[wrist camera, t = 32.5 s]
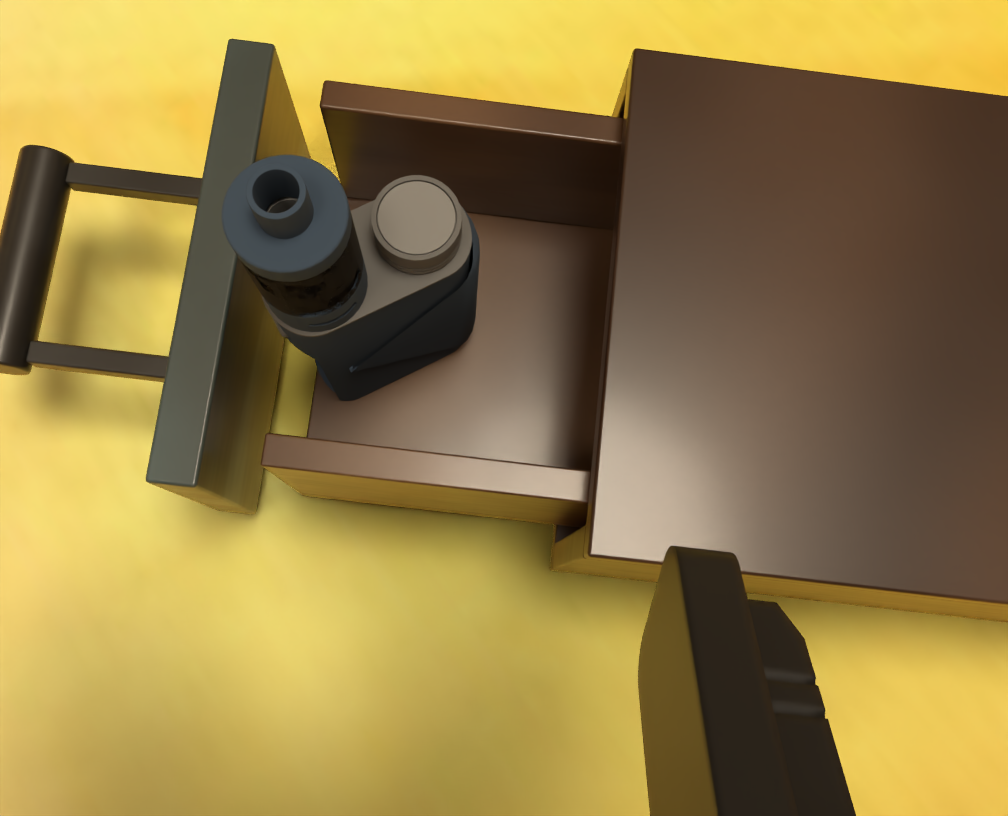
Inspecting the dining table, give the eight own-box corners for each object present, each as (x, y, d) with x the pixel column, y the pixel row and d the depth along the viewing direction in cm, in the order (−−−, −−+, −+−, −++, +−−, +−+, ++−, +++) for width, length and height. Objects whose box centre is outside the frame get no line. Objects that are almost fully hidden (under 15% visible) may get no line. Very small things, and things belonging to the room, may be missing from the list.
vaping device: (292, 341, 28) (178, 158, 17) (450, 267, 29) (447, 42, 17) (330, 417, 28) (239, 284, 16) (489, 341, 29) (512, 160, 17)
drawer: (23, 488, 28) (-109, 452, 22) (99, 137, 31) (0, 7, 24) (696, 565, 29) (768, 553, 22) (719, 214, 31) (791, 109, 25)
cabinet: (549, 570, 29) (587, 557, 21) (586, 192, 32) (633, 46, 24) (1042, 626, 30) (1273, 635, 22) (1040, 249, 33) (1244, 125, 24)
